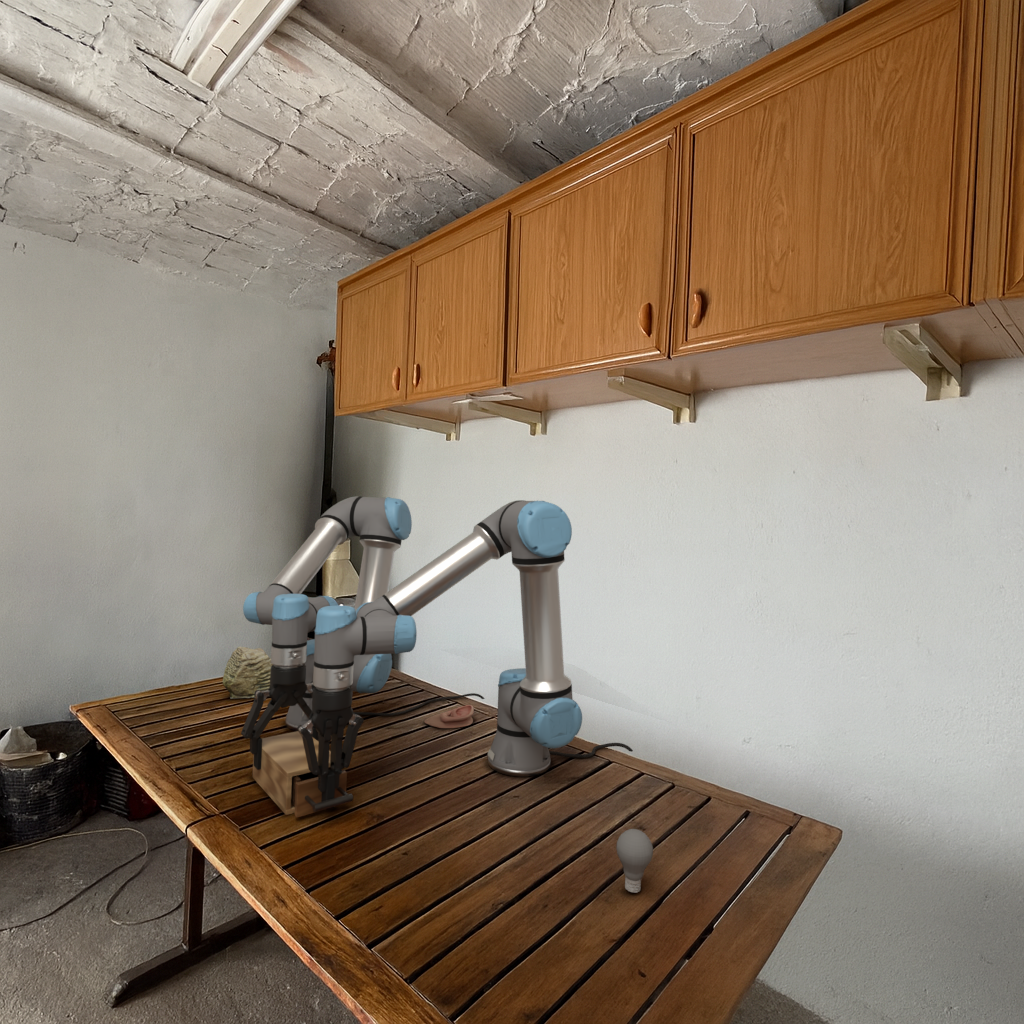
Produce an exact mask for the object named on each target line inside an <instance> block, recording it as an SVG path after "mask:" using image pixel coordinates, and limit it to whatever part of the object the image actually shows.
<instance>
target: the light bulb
mask: <svg viewBox="0 0 1024 1024" xmlns="http://www.w3.org/2000/svg"><path fill="white" fill-rule="evenodd" d="M615 849H616V854H617V857H618V859H619V861H620V863H621V865H622V867H623V873H624V874H623V875H624V876H625V878H624V888H625V890H627V891H628V892H630V893H634V894H635V893H639V892H640V891H641V889H642V887H641V886H642V879H643V877H644V875H645V871H646V868H647V867H648V866H649V864H650V863H651V861H652V859H653V855H654V847H653V843H652V841H651V838H649V836H648V835H647V834H646V833H645V832H643V831H642V830H641V829H636V828H629V829H627V830H625V831H623V832H622V833H621V834H620V835H619V837H618V839H617V841H616V847H615Z"/></svg>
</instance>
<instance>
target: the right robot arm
mask: <svg viewBox="0 0 1024 1024" xmlns="http://www.w3.org/2000/svg"><path fill="white" fill-rule="evenodd" d="M572 529H573V528H572V522H571V520H570V518H569V516H568V514H567V513H566V512H565V510H563V509H562V508H561V507H560V506H559V505H557V504H555V503H552V502H549V501H545V500H524V499H523V500H513V501H511V502H508V503H506V504H504V505H502V506H500V508H497V510H495V511H493V512H492V513H491V514H489V515H488V516H486V517H485V518H484V519H482V520H481V521H480V522H478V523H477V524H475V525H474V526H473V530H472V532H471V533H470V534H468V535H467V536H466V537H464V538H462V539H461V540H460V541H458V542H457V543H456V544H454V545H453V546H452V547H449V548H448V549H447V550H446V551H444V552H443V553H441V554H440V555H438V556H437V557H435V558H434V559H433V560H431V561H430V562H428V563H427V564H425V565H424V566H423V567H421V568H420V569H418V570H417V571H415V572H414V573H413V574H411V575H410V576H409V577H407V578H405V579H404V580H402V581H401V582H400V583H399V584H398V583H397V584H396V585H395V586H394V587H393V588H391V589H389V591H388V592H387V593H386V594H384V595H383V596H381V597H380V598H378V599H377V600H375V601H374V602H367V603H364V604H362V605H361V606H359V607H358V608H357V610H355V607H353V606H350V605H340V604H338V605H334V606H326V607H323V608H321V609H320V610H319V611H318V612H317V619H316V629H315V631H314V639H315V648H314V672H313V685H314V686H315V687H314V688H313V694H312V713H311V715H310V717H309V721H308V722H307V723H305V724H304V725H303V726H302V725H299V726H298V727H297V730H298V732H299V733H300V735H301V736H302V739H303V744H304V749H305V754H306V758H307V763H308V768H309V770H310V771H311V772H312V773H313V774H314V775H318V789H319V790H320V791H321V792H322V798H321V802H323V801H326V800H330V799H333V798H334V797H335V789H336V788H338V787H339V776H340V774H341V773H342V771H343V770H344V769H348V768H349V766H350V765H351V760H352V758H353V757H352V756H353V753H354V749H355V746H356V741H357V738H358V733H359V730H360V728H361V727H362V725H363V723H364V721H365V720H364V718H363V717H362V716H361V715H357V714H353V712H354V710H353V708H352V704H353V692H354V691H353V688H352V687H351V685H352V683H353V667H354V655H370V654H391V655H392V654H394V655H399V654H405V653H410V652H412V651H413V650H414V649H415V647H416V643H417V636H418V635H417V624H416V621H415V618H414V617H413V616H414V615H415V614H416V613H418V612H419V611H421V610H422V609H424V608H425V607H426V606H428V605H429V604H431V603H432V602H433V601H434V600H436V599H438V598H439V597H440V596H441V595H443V594H444V593H446V592H447V591H448V590H449V591H450V589H451V588H453V587H454V586H455V585H457V584H458V583H461V581H462V580H464V579H465V578H467V577H469V576H470V575H471V574H472V573H474V572H475V571H476V570H478V569H479V568H480V567H482V566H484V565H485V564H486V563H488V562H489V561H491V560H496V561H497V560H499V559H501V558H502V557H503V556H505V555H507V554H508V553H511V564H512V565H513V566H514V567H515V568H516V569H517V570H518V571H519V586H520V600H521V601H520V603H521V615H522V616H521V617H522V633H523V649H524V665H525V668H524V667H523V668H509V669H505V670H503V671H501V673H500V674H499V678H498V684H497V688H498V689H497V690H498V691H497V717H496V719H497V721H496V732H495V735H494V737H493V741H492V743H491V746H490V748H489V749H488V752H487V765H488V766H489V767H490V769H492V770H494V771H495V772H497V773H499V774H502V775H505V776H506V775H507V776H510V777H521V778H522V777H525V778H526V777H534V776H539V775H541V774H544V773H546V772H548V771H549V769H550V767H551V756H556V757H557V756H558V757H563V758H572V759H587V758H591V757H593V756H594V755H595V754H596V752H597V750H600V749H605V748H610V747H611V748H612V747H619V748H624V749H625V750H627V751H628V752H633V751H634V750H633V749H632V748H631V747H630V746H629V745H627V744H625V743H623V742H609V743H603V744H598V745H595V746H594V747H593V748H592V749H591V752H589V753H585V754H581V753H580V754H579V753H578V754H577V753H565V752H560V751H553V750H555V749H561V748H563V747H565V746H567V745H568V744H570V743H571V742H573V741H574V738H575V737H576V736H578V734H579V732H580V730H581V727H582V725H583V712H582V709H581V706H579V704H578V703H577V701H575V699H574V698H573V685H572V684H573V683H572V679H571V678H570V677H569V676H567V675H566V674H565V663H564V647H563V632H562V631H563V629H562V614H561V597H560V596H561V595H560V579H559V568H560V567H561V566H562V565H563V564H564V562H565V561H566V560H565V550H567V547H568V545H570V543H571V540H572V535H573V530H572ZM313 726H314V727H315V729H316V730H317V731H318V737H319V740H318V742H319V747H318V761H317V756H316V751H315V746H314V741H313V738H312V736H311V734H312V733H313V730H312V727H313ZM346 727H347V728H346ZM345 728H346V732H345ZM344 734H345V736H344ZM343 739H344V740H343ZM549 749H553V750H549ZM329 750H330V751H331V757H330V768H331V770H328V769H329ZM333 808H335V807H331V808H327V809H326V810H330V809H333Z"/></svg>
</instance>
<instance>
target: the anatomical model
mask: <svg viewBox="0 0 1024 1024" xmlns="http://www.w3.org/2000/svg"><path fill="white" fill-rule="evenodd" d="M474 713H475V707H474V706H473V705H472V704H467V705H462V706H459V707H454V708H452V709H450V710H447V711H444V712H441V713H437V714H434V715H432V716H429V717H428V718H426V719H425V720H424V723H425V724H426V725H429V726H431V727H434V728H437V729H457V728H463V727H468V726H470V725H472V724H473V723H474V718H473V717H472V716H473V715H474Z"/></svg>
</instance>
